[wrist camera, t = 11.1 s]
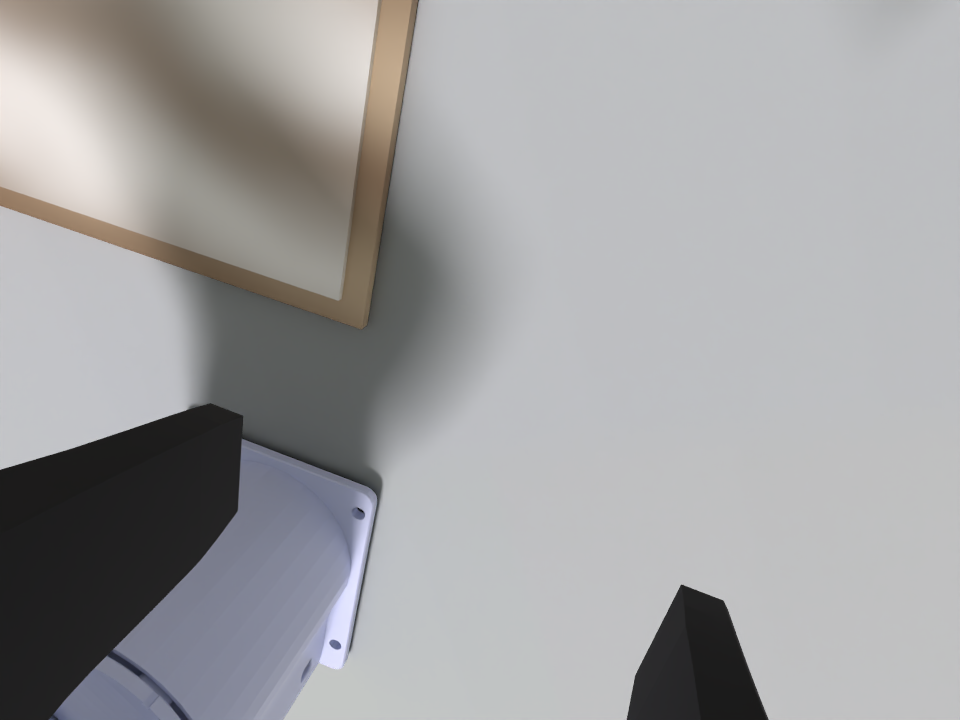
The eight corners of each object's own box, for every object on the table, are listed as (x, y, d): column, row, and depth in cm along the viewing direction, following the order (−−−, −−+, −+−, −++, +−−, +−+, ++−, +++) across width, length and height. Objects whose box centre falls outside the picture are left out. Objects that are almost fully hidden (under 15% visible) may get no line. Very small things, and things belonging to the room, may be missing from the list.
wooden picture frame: (367, 325, 22) (358, 331, 21) (-20, 192, 24) (-36, 196, 23) (437, -124, 16) (428, -130, 16) (-76, -239, 18) (-99, -248, 18)
